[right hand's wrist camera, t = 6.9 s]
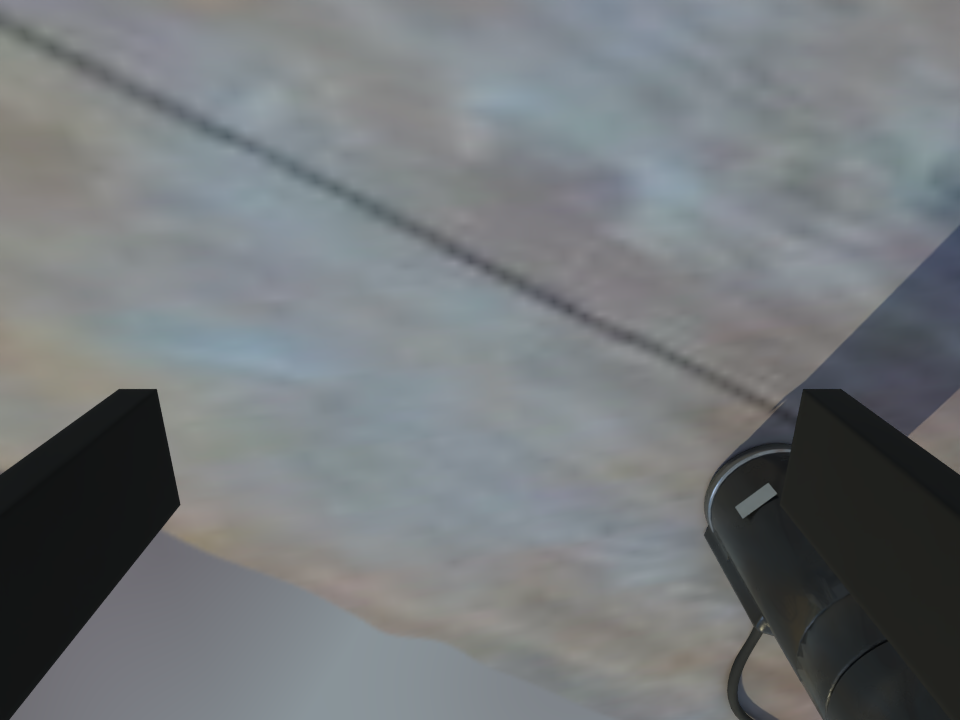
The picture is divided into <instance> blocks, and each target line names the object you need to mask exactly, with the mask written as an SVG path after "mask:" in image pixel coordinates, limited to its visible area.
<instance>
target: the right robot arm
mask: <svg viewBox="0 0 960 720" xmlns="http://www.w3.org/2000/svg"><path fill="white" fill-rule="evenodd" d="M179 506H180V501H179V496H178V491H177V486H176V481H175V476H174V471H173V466H172V461H171V456H170V452H169V447H168V442H167V437H166V432H165V427H164V422H163V417H162V412H161V408H160V403H159V398H158V393H157V389H119V390H117V391H116V392H114V393H113V394H112V395H110V396H109V397H107V398H106V399H105V400H103V401H102V402H101V403H99V404H98V405H96V406H95V407H94V408H92V409H91V410H89V411H88V412H87V413H85V414H84V415H83V416H81V417H80V418H78V419H77V420H76V421H74V422H73V423H71V424H70V425H69V426H67V427H66V428H65V429H63V430H62V431H60V432H59V433H58V434H56V435H55V436H53V437H52V438H51V439H49V440H48V441H47V442H45V443H44V444H42V445H41V446H40V447H38V448H37V449H36V450H34V451H33V452H31V453H30V454H29V455H27V456H26V457H24V458H23V459H22V460H20V461H19V462H18V463H16V464H15V465H13V466H12V467H11V468H9V469H8V470H6V471H5V472H4V473H2V474H1V475H0V720H9V719H10V718H11V717H12V716H13V714H14V713H15V712H16V710H17V709H18V708H19V707H20V706H21V704H22V703H23V702H24V701H25V699H26V698H27V697H28V696H29V694H30V693H31V692H32V690H33V689H34V688H35V687H36V685H37V684H38V683H39V682H40V680H41V679H42V678H43V677H44V675H45V674H46V673H47V672H48V670H49V669H50V668H51V667H52V665H53V664H54V663H55V662H56V660H57V659H58V658H59V657H60V655H61V654H62V653H63V651H64V650H65V649H66V648H67V646H68V645H69V644H70V643H71V641H72V640H73V639H74V638H75V636H76V635H77V634H78V633H79V631H80V630H81V629H82V628H83V626H84V625H85V624H86V623H87V621H88V620H89V619H90V618H91V616H92V615H93V614H94V613H95V611H96V610H97V609H98V608H99V606H100V605H101V604H102V602H103V601H104V600H105V599H106V598H107V596H108V595H109V594H110V592H111V591H112V590H113V589H114V587H115V586H116V585H117V584H118V582H119V581H120V580H121V579H122V577H123V576H124V575H125V574H126V572H127V571H128V570H129V569H130V567H131V566H132V565H133V564H134V562H135V561H136V560H137V558H138V557H139V556H140V555H141V554H142V552H143V551H144V550H145V548H146V547H147V546H148V545H149V543H150V542H151V541H152V540H153V538H154V537H155V536H156V535H157V533H158V532H159V531H160V530H161V528H162V527H163V526H164V525H165V523H166V522H167V521H168V520H169V518H170V517H171V516H172V515H173V513H174V512H175V511H176V510H177V508H178V507H179ZM780 506H781V507H782V508H783V510H784V511H785V512H786V513H787V515H788V516H789V517H790V518H791V520H792V521H793V522H794V523H795V525H796V526H797V527H798V528H799V530H800V531H801V532H802V533H803V535H804V536H805V537H806V538H807V540H808V541H809V542H810V543H811V545H812V546H813V547H814V549H815V550H816V551H817V552H818V554H819V555H820V556H821V557H822V559H823V560H824V561H825V562H826V564H827V565H828V566H829V567H830V569H831V570H832V571H833V572H834V574H835V575H836V576H837V577H838V579H839V580H840V581H841V582H842V584H843V585H844V586H845V587H846V589H847V590H848V591H849V592H850V594H851V595H852V596H853V598H854V599H855V600H856V601H857V603H858V604H859V605H860V606H861V608H862V609H863V610H864V611H865V613H866V614H867V615H868V616H869V618H870V619H871V620H872V621H873V623H874V624H875V625H876V626H877V628H878V629H879V630H880V631H881V633H882V634H883V635H884V636H885V638H886V639H887V640H888V641H889V643H890V644H891V645H892V647H893V648H894V649H895V650H896V652H897V653H898V654H899V655H900V657H901V658H902V659H903V660H904V662H905V663H906V664H907V665H908V667H909V668H910V669H911V670H912V672H913V673H914V674H915V675H916V677H917V678H918V679H919V680H920V682H921V683H922V684H923V685H924V687H925V688H926V689H927V690H928V692H929V693H930V694H931V696H932V697H933V698H934V699H935V701H936V702H937V703H938V704H939V706H940V707H941V708H942V709H943V711H944V712H945V713H946V714H947V716H948V717H949V718H950V719H951V720H960V475H959V474H958V473H956V472H955V471H954V470H952V469H951V468H949V467H948V466H947V465H945V464H944V463H942V462H941V461H940V460H938V459H937V458H936V457H934V456H933V455H931V454H930V453H929V452H927V451H926V450H924V449H923V448H922V447H920V446H919V445H918V444H916V443H915V442H913V441H912V440H911V439H909V438H908V437H907V436H905V435H904V434H902V433H901V432H900V431H898V430H897V429H895V428H894V427H893V426H891V425H890V424H889V423H887V422H886V421H884V420H883V419H882V418H880V417H879V416H877V415H876V414H875V413H873V412H872V411H871V410H869V409H868V408H866V407H865V406H864V405H862V404H861V403H859V402H858V401H857V400H855V399H854V398H853V397H851V396H850V395H848V394H847V393H846V392H844V391H843V390H841V389H803V393H802V398H801V403H800V408H799V412H798V417H797V422H796V427H795V432H794V437H793V442H792V447H791V452H790V456H789V461H788V466H787V471H786V476H785V481H784V486H783V491H782V496H781V501H780Z"/></svg>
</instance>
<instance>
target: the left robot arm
mask: <svg viewBox="0 0 960 720" xmlns="http://www.w3.org/2000/svg"><path fill="white" fill-rule="evenodd" d="M791 447H792V445H788V444H768V445H763V446H758V447H755V448H752V449H749V450H747V451H745V452H743V453H741V454H739V455H737V456H736V457H734V458H733V459H731V460H730V461H729V462H727V463H726V464H725V465H724V466H723V467H722V468H721V469H720V470H719V471H718V472H717V474H716V475H715V476H714V478H713V479H712V481H711V483H710V485H709V487H708V489H707V492H706V496H705V502H704V511H705V517H706V520H707V523H708V528H707V530H706V532H705V534H704V536H705V538H706V540H707V542H708V544H709V546H710V547H711V549H712V551H713V553H714V555H715V557H716V558H717V560H718V562H719V564H720V566H721V567H722V569H723V571H724V573H725V575H726V577H727V578H728V580H729V582H730V584H731V586H732V587H733V589H734V591H735V593H736V595H737V597H738V598H739V600H740V602H741V604H742V606H743V607H744V609H745V611H746V613H747V615H748V617H749V618H750V620H751V622H752V624H753V626H754V628H753V630H752V632H751V634H750V636H749V637H748V639H747V641H746V642H745V644H744V646H743V647H742V649H741V650H740V652H739V654H738V655H737V657H736V659H735V662H734V664H733V666H732V669H731V672H730V676H729V680H728V689H727V692H728V700H729V703H730V706H731V709H732V711H733V712H734V714H735V715H736V716H737V717H738V719H739V720H753V719H752V718H750V717H749V716H748V715H747V714H746V713H745V712H744V711H743V710H742V708H741V706H740V705H739V702H738V696H737V690H738V683H739V679H740V676H741V672H742V670H743V668H744V665H745V663H746V661H747V659H748V657H749V655H750V654H751V652H752V650H753V648H754V647H755V645H756V643H757V642H758V640H759V639H760V637H761V635H762V634H763V633H765V634H768V635H772V636H774V637H775V638H776V640H777V642H778V643H779V645H780V647H781V649H782V650H783V652H784V654H785V656H786V657H787V659H788V661H789V662H790V664H791V666H792V668H793V669H794V671H795V673H796V674H797V676H798V678H799V680H800V681H801V683H802V684H803V686H804V688H805V690H806V691H807V693H808V695H809V697H810V698H811V700H812V702H813V703H814V705H815V707H816V709H817V710H818V712H819V714H820V715H821V717H822V719H823V720H951V719H950V718H949V717H948V716H947V714H946V713H945V712H944V711H943V709H942V708H941V707H940V706H939V704H938V703H937V702H936V701H935V699H934V698H933V697H932V696H931V694H930V693H929V692H928V690H927V689H926V688H925V687H924V685H923V684H922V683H921V682H920V680H919V679H918V678H917V677H916V675H915V674H914V673H913V672H912V670H911V669H910V668H909V667H908V665H907V664H906V663H905V662H904V660H903V659H902V658H901V657H900V655H899V654H898V653H897V652H896V650H895V649H894V648H893V647H892V645H891V644H890V643H889V641H888V640H887V639H886V638H885V636H884V635H883V634H882V633H881V631H880V630H879V629H878V628H877V626H876V625H875V624H874V623H873V621H872V620H871V619H870V618H869V616H868V615H867V614H866V613H865V611H864V610H863V609H862V608H861V606H860V605H859V604H858V603H857V601H856V600H855V599H854V598H853V596H852V595H851V594H850V592H849V591H848V590H847V589H846V587H845V586H844V585H843V584H842V582H841V581H840V580H839V579H838V577H837V576H836V575H835V574H834V572H833V571H832V570H831V569H830V567H829V566H828V565H827V564H826V562H825V561H824V560H823V559H822V557H821V556H820V555H819V554H818V552H817V551H816V550H815V549H814V547H813V546H812V545H811V543H810V542H809V541H808V540H807V538H806V537H805V536H804V535H803V533H802V532H801V531H800V530H799V528H798V527H797V526H796V525H795V523H794V522H793V521H792V520H791V518H790V517H789V516H788V515H787V513H786V512H785V511H784V510H783V508H782V507H781V506H780V501H781V496H782V491H783V486H784V481H785V476H786V471H787V466H788V461H789V456H790V452H791Z"/></svg>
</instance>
